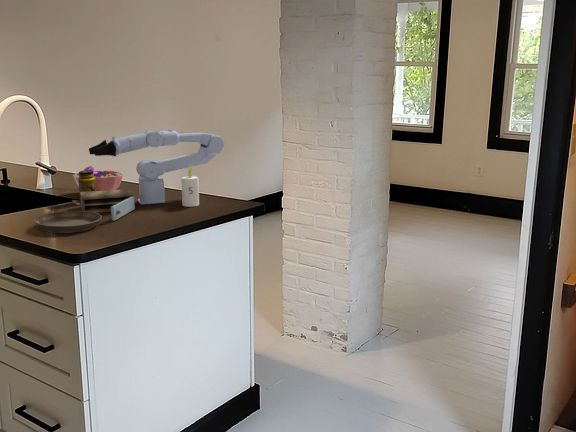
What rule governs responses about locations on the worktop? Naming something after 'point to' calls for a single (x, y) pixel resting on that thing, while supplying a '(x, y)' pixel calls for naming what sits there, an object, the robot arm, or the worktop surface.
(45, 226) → the plant saucer
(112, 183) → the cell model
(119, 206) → the door
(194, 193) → the candle
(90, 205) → the cabinet
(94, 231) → the worktop surface
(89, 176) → the condiment
